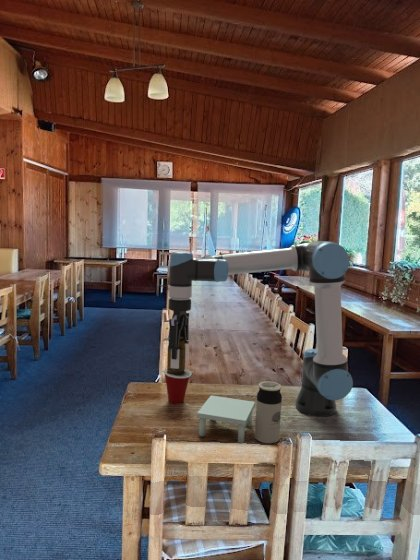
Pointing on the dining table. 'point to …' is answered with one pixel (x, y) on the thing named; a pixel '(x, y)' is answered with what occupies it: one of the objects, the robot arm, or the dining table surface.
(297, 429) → the dining table surface
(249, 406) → the stool
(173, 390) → the plastic cup
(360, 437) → the dining table surface
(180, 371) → the condiment
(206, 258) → the robot arm
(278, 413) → the travel mug
